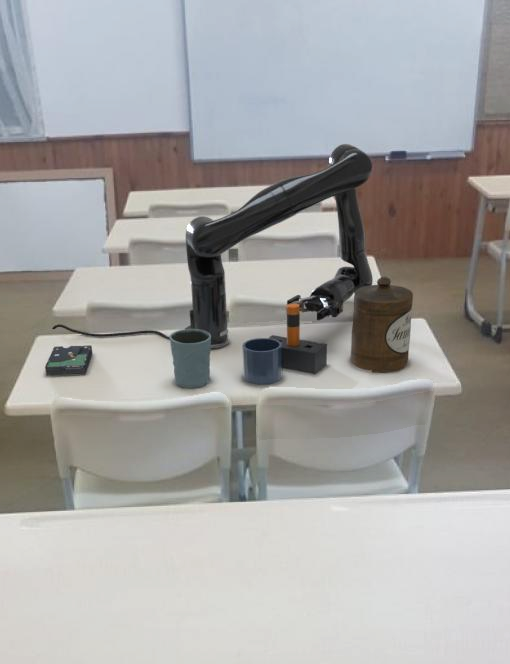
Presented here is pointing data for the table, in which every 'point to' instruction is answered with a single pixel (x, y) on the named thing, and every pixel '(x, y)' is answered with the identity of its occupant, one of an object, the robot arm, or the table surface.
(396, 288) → the wooden container
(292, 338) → the screwdriver
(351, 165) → the robot arm
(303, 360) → the holder
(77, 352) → the disk drive
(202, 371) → the grey-green cup
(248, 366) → the pencil cup
